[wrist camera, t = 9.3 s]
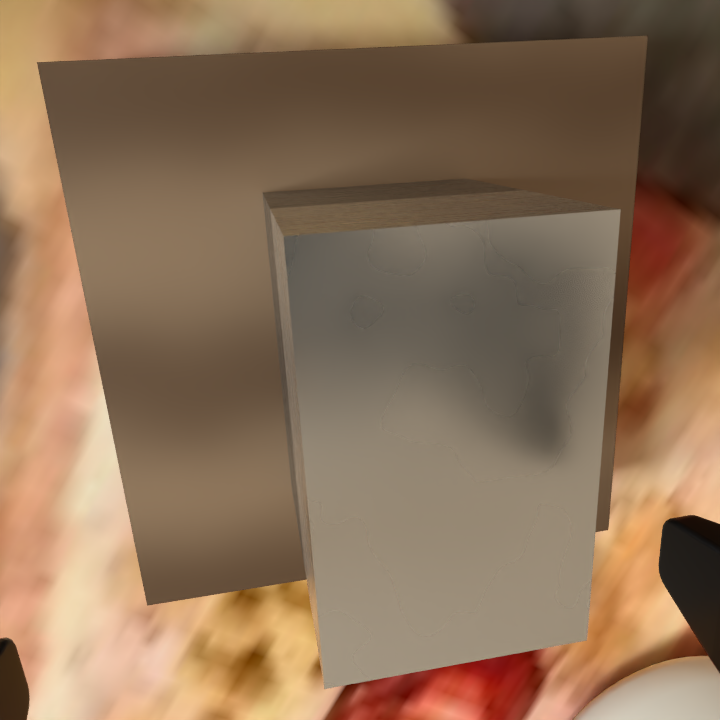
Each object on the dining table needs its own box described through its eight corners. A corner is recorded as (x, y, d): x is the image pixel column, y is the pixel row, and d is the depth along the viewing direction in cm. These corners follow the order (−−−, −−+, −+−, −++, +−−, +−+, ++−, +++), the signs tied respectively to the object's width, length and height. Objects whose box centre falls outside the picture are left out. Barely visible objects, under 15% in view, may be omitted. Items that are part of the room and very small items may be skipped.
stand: (69, 74, 17) (37, 62, 14) (586, 50, 19) (647, 35, 16) (158, 543, 21) (147, 605, 19) (563, 482, 23) (608, 529, 21)
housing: (465, 465, 19) (587, 640, 12) (291, 489, 18) (324, 689, 12) (466, 178, 16) (620, 208, 10) (262, 192, 16) (283, 236, 9)
